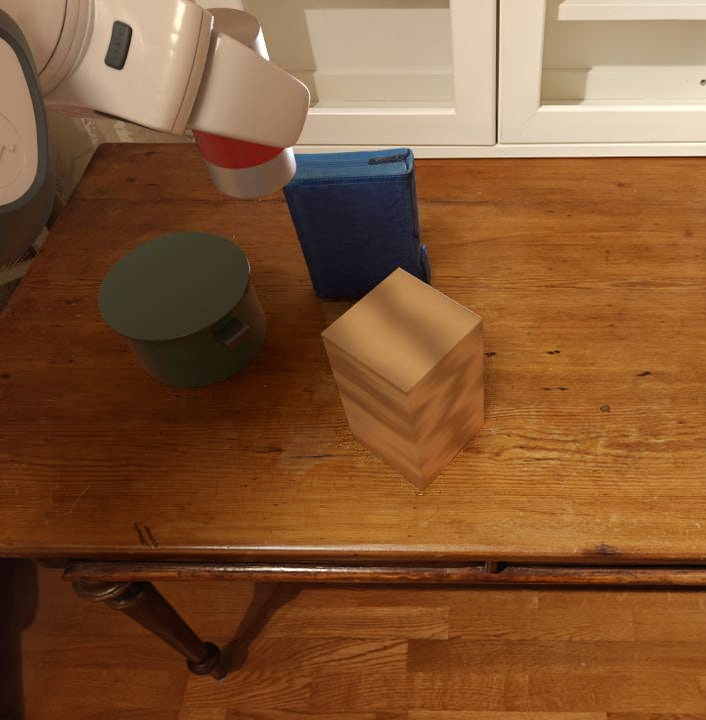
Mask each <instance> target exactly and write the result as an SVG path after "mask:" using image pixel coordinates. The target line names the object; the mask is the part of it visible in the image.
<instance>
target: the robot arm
mask: <svg viewBox="0 0 706 720" xmlns="http://www.w3.org/2000/svg"><path fill="white" fill-rule="evenodd" d="M206 9H207V8H205V7H202V6H201V5H198V4H197V3H196V2H193V1H192V0H0V267H3V266H5V265H7V264H9V263H11V262H13V261H14V260H16V259H17V258H19V257H20V256H22V255H23V254H24V253H25V252H27V250H29V249H30V248H32V246H33V245H34V243H36V242H37V240H38V238H39V237H40V236H41V234H42V233H43V231H44V230H45V227H46V226H47V223H48V222H49V219H50V216H51V214H52V210H53V206H54V203H55V198H56V190H57V172H56V171H57V169H56V161H55V153H54V152H55V151H54V147H53V140H52V135H51V134H52V133H51V129H50V123H49V118H48V113H47V111H49V112H52V113H56V114H60V115H63V116H67V117H70V118H77V119H94V120H95V119H96V120H106V121H107V120H108V121H109V120H110V121H111V120H113V121H118V122H122V123H128V124H131V125H134V126H137V127H140V128H144V129H147V130H149V131H154V132H157V133H160V134H166V135H170V136H174V137H181V136H182V135H184V132H185V130H186V129H190V130H191V129H193V130H197V131H201V132H205V133H209V134H214V135H218V136H223V137H227V138H232V139H237V140H242V141H247V142H252V143H257V144H262V145H267V146H272V147H278V148H290V147H292V148H293V147H294V146H295V145H296V144H297V143H298V141H299V139H300V137H301V135H302V132H303V130H304V126H305V124H306V121H307V116H308V113H309V108H310V104H311V94H310V91H309V89H308V87H307V86H306V85H305V84H304V83H303V82H302V81H300V80H299V79H298V78H296V77H295V76H293V75H291V74H290V73H289V72H287V71H286V70H284V69H283V68H281V67H280V66H278V65H277V64H275V63H273V62H272V61H271V60H270V59H269V60H267V59H266V58H264V57H262V56H261V55H259V54H258V53H256V52H255V51H253V50H251V49H250V48H248V47H247V46H245V45H243V44H242V43H240V42H238V41H237V40H235V39H233V38H231V37H229V36H228V35H226V34H224V33H222V32H220V31H218V30H217V29H215V28H213V20H214V17H213V15H212V14H211V13H210V12H209V11H208V10H206Z"/></svg>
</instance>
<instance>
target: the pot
mask: <svg viewBox="0 0 706 720" xmlns="http://www.w3.org/2000/svg"><path fill="white" fill-rule="evenodd" d="M97 305H98V309H99V313H100V315H101V317H102V319H103V320H104V322H105V323H106V324H107V326H108V327H109V328H110V330H112V331H113V332H114V333H116V334H117V335H118V336H120V337H121V338H122V339H123V341H124V343H126V345H127V346H128V348H129V349H130V351H131V352H132V354H133V355H134V357H135V358H136V360H137V362H138V363H139V364H140V366H141V367H142V368H143V370H144V371H145V372H146V373H147V374H148V375H149V376H150V377H151V379H154V380H155V381H157V382H159V383H160V384H163V385H166V386H170V387H174V388H181V389H182V388H183V389H191V388H192V389H194V388H201V387H207V386H210V385H214V384H217V383H220V382H222V381H224V380H227V379H228V378H231V377H232V376H234V375H236V374H237V373H239V372H240V371H242V370H243V369H245V368H246V367H247V366H248V365H249V364H250V363H251V362H252V361H253V360H254V359H255V357H256V356H257V355H258V353H259V352H260V350H261V349H262V347H263V345H264V343H265V339H266V337H267V333H268V321H267V317H266V314H265V311H264V309H263V307H262V304H261V301H260V299H259V297H258V294H257V292H256V289H255V286H254V284H253V281H252V268H251V265H250V262H249V259H248V257H247V255H246V254H245V252H244V250H243V249H242V248H241V247H240V246H239V245H238V244H236V243H235V242H234V241H233V240H231V239H230V238H227V237H225V236H222V235H221V234H217V233H213V232H207V231H196V230H192V231H191V230H190V231H189V230H187V231H179V232H178V231H177V232H174V233H173V232H172V233H168V234H165V235H161V236H158V237H155V238H153V239H150V240H148V241H145V242H143V243H141V244H139V245H138V246H136V247H134V248H133V249H131V250H130V251H128V252H127V253H125V254H123V256H121V257H120V258H119V259H118V260H117V261H116V262H115V263H114V264H113V265H112V267H111V268H109V270H108V271H107V272H106V274H105V276H104V278H103V279H102V282H101V284H100V287H99V291H98V295H97Z"/></svg>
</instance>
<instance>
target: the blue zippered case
mask: <svg viewBox="0 0 706 720" xmlns="http://www.w3.org/2000/svg"><path fill="white" fill-rule="evenodd" d="M293 154H294V158H295V162H296V172H295V174H294V176H293V178H292V179H291V180H290V182H289V183H288V184H287V185H285V186H284V187H283V188H281V189H282V193H283V196H284V198H285V201H286V204H287V208H288V211H289V214H290V218H291V221H292V224H293V227H294V229H295V233H296V236H297V239H298V242H299V246H300V250H301V252H302V255H303V258H304V262H305V264H306V267H307V271H308V275H309V277H310V282H311V284H312V288H313V291H314V293H315V297H316V298H317V299H318V300H321V301H322V300H326V301H327V300H330V301H341V300H346V301H355V300H361V299H362V298H363V297H364V296H366V295H367V294H368V293H369V292H370V291H372V290H373V289H374V288H375V287H376V286H377V285H379V284H380V283H381V282H382V281H383V280H385V279H386V278H387V277H388V276H389V275H390V274H392V273H393V272H394V271H395V270H396V269H398V268H401V269H402V270H404V271H406V272H407V273H409V274H410V275H412V276H414V277H415V278H417V279H419V280H420V281H422V282H424V283H425V284H427V285H429V286H430V287H431V280H432V279H431V276H432V270H431V264H430V257H429V255H428V249H427V246H426V245H425V244H422V243H421V235H422V234H421V233H422V231H421V226H420V216H419V215H420V214H419V213H420V212H419V204H418V203H419V202H418V191H417V179H416V177H417V173H416V166H415V156H414V152H413V149H411V148H409V147H397V148H389V149H388V148H387V149H378V150H361V151H360V150H359V151H345V152H344V151H343V152H324V153H323V152H321V153H293Z"/></svg>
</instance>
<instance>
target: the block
mask: <svg viewBox="0 0 706 720" xmlns="http://www.w3.org/2000/svg"><path fill="white" fill-rule="evenodd" d="M320 335H321V339H322V343H323V345H324V348H325V353H326V355H327V358H328V362H329V364H330V368H331V371H332V374H333V378H334V380H335V384H336V388H337V390H338V394H339V397H340V400H341V403H342V407H343V410H344V413H345V416H346V420H347V422H348V426H349V430H350V432H351V436H352V438H353V440H355V441H356V442H357V443H358V444H360V445H361V446H362V447H364V448H365V449H366V450H368V451H369V452H370V453H372V454H373V455H375V457H377V458H378V459H379V460H381V461H382V462H384V463H385V464H387V465H388V466H389V467H390V468H391V469H392V470H394V471H395V472H397V473H398V474H400V475H401V476H402V477H404V478H405V479H406V480H408V481H409V482H410V483H412V484H413V485H414V486H415V487H417V488H418V489H419V490H421V491H423V492H424V491H425V490H426V489H427V488H428V487H429V486H430V485H431V484H432V482H433V481H435V479H436V478H438V476H439V475H440V474H441V473H442V472H443V470H445V469H446V468H447V466H448V465H449V464H450V463H451V462H452V461H453V459H455V458H456V456H457V455H458V454H459V453H460V452H461V451H462V450H463V449H464V448H465V447H466V445H468V443H469V442H470V441H471V440H472V439H473V438H474V437H475V436H476V435H477V433H478V432H479V431H480V430H481V429H482V428H483V427H484V426H485V386H484V385H485V384H484V383H485V380H484V377H485V376H484V375H485V374H484V373H485V371H484V318H483V317H482V316H480V315H478V314H477V313H475V312H474V311H472V310H470V308H469V309H468V308H467V307H465V306H463V305H462V304H460V303H459V302H457V301H456V300H454V299H452V298H450V297H449V296H446V295H445V294H444V293H442V292H441V291H438V290H437V289H435V288H434V287H432V286H431V285H430V286H429V285H427V284H425V283H424V282H422V281H420V280H419V279H417V278H415V277H414V276H412V275H410V274H409V273H407V272H406V271H404V270H402V269H401V268H398V269H396V270H395V271H394V272H393V273H392V274H390V275H389V276H388V277H387V278H386V279H385V280H383V281H382V282H381V283H380V284H379V285H377V286H376V287H375V288H374V289H373V290H372V291H370V292H369V293H368V294H367V295H366V296H364V297H363V298H362V299H359V301H357V302H356V303H355V304H354V305H353V306H351V307H350V308H349V309H347V310H346V311H345V312H344V313H343V314H342V315H341V316H340V317H338V318H337V319H335V320H334V322H333V323H332V324H330V325H329V326H328V327H326V328H325V329H324V330H323V331H321V333H320Z"/></svg>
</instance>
